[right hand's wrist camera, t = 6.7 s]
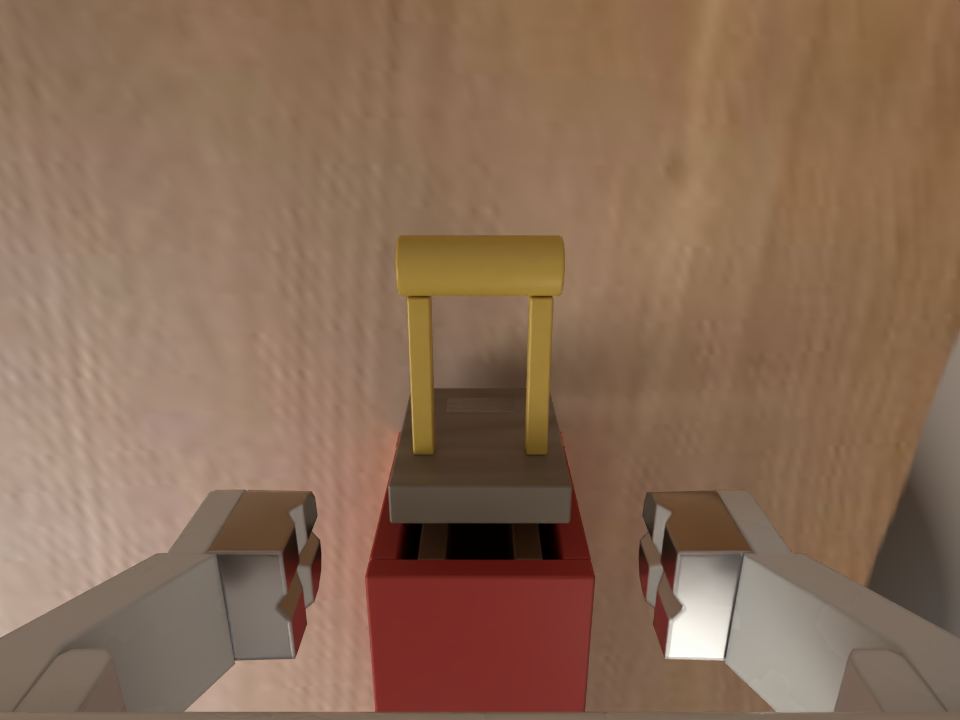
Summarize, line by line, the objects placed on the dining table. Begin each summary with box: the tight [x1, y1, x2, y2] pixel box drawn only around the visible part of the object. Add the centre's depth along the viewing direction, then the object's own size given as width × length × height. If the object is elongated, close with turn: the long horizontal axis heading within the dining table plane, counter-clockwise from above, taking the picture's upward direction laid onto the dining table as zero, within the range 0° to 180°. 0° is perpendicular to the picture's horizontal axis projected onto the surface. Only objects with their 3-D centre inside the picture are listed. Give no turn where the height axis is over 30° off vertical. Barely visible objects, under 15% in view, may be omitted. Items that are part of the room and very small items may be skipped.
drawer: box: [388, 236, 572, 560], centre depth 22 cm, size 23×5×6 cm, turn 0°
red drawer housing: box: [365, 432, 595, 712], centre depth 24 cm, size 18×6×8 cm, turn 0°
